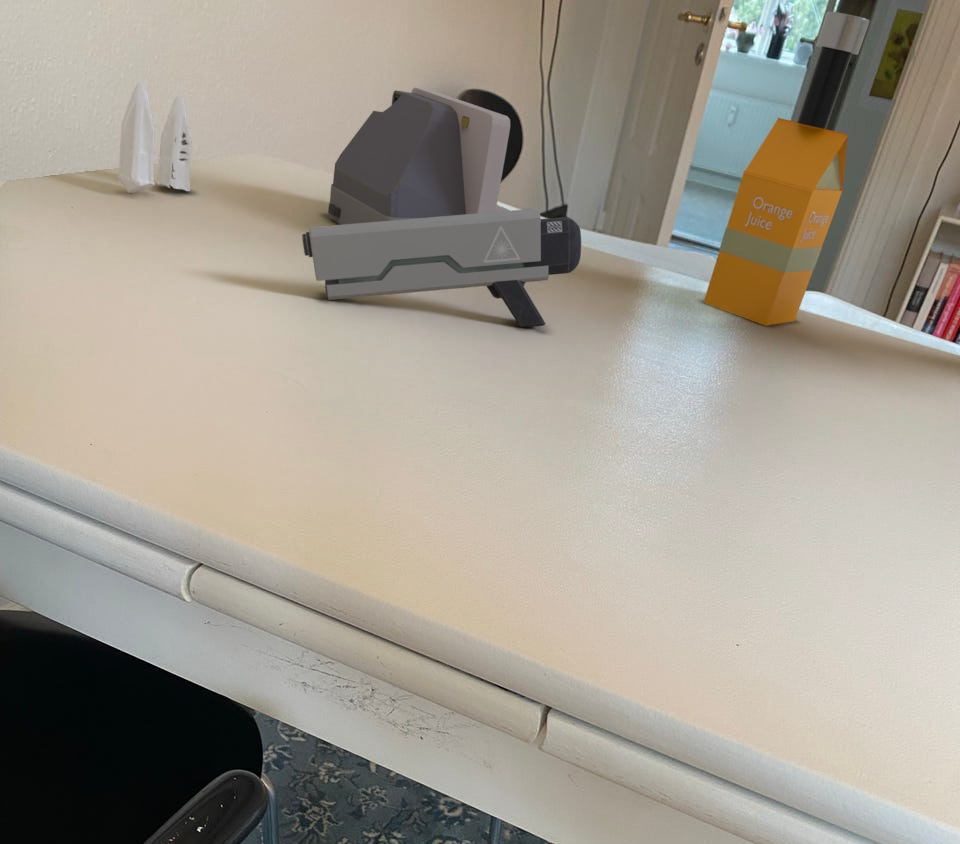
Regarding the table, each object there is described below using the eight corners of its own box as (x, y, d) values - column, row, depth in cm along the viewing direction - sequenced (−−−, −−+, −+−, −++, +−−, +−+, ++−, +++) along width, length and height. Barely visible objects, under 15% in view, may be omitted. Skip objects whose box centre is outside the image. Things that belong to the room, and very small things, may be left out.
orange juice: (765, 326, 105) (833, 132, 94) (702, 302, 109) (759, 114, 98) (795, 321, 110) (863, 137, 99) (734, 298, 115) (792, 119, 103)
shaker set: (136, 201, 100) (132, 86, 94) (105, 192, 101) (99, 77, 95) (202, 192, 110) (202, 87, 104) (173, 184, 111) (171, 80, 105)
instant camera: (531, 270, 107) (559, 127, 99) (363, 254, 99) (378, 97, 90) (465, 225, 123) (485, 98, 114) (315, 208, 114) (324, 70, 106)
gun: (582, 323, 86) (584, 209, 81) (318, 348, 84) (301, 233, 78) (576, 315, 88) (578, 204, 83) (318, 339, 86) (301, 227, 80)
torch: (804, 123, 101) (840, 16, 96) (838, 131, 99) (877, 22, 93) (783, 119, 99) (819, 9, 93) (817, 128, 96) (856, 15, 90)
